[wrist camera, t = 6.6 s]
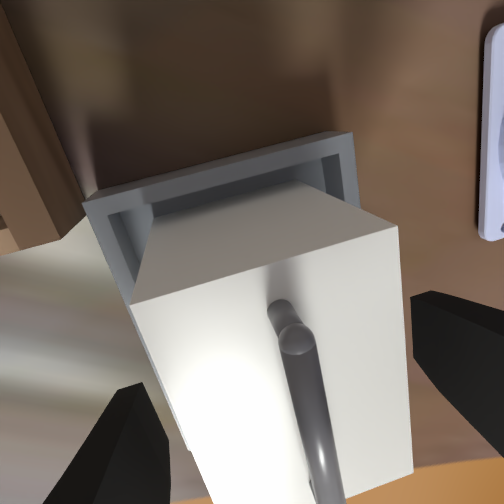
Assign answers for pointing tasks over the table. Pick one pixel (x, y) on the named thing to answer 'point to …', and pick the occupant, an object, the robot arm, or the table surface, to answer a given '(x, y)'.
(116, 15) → the table surface
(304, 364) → the white drawer with handle
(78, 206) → the walnut bay
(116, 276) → the slate drawer housing
